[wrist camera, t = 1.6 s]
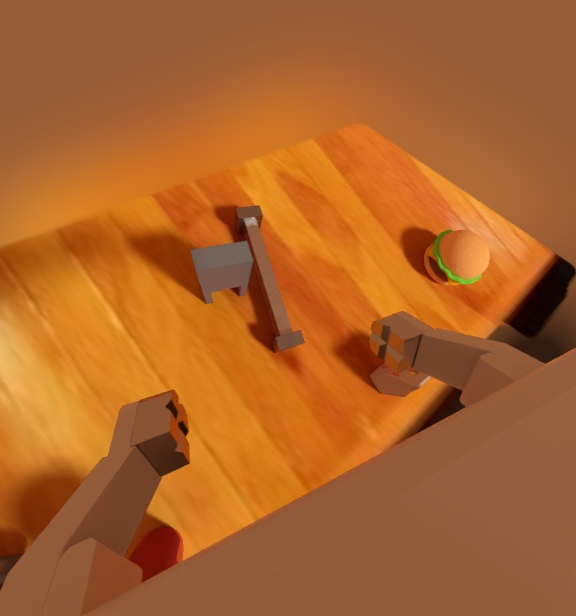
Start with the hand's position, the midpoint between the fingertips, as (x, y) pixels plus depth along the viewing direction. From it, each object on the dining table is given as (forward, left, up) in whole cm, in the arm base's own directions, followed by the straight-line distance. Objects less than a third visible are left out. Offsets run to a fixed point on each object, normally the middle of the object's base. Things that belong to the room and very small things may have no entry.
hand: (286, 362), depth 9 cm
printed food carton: (+23, +10, -29) cm, 39 cm away
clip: (-9, +9, -29) cm, 31 cm away
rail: (-4, +14, -29) cm, 32 cm away
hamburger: (+28, +38, -29) cm, 56 cm away
